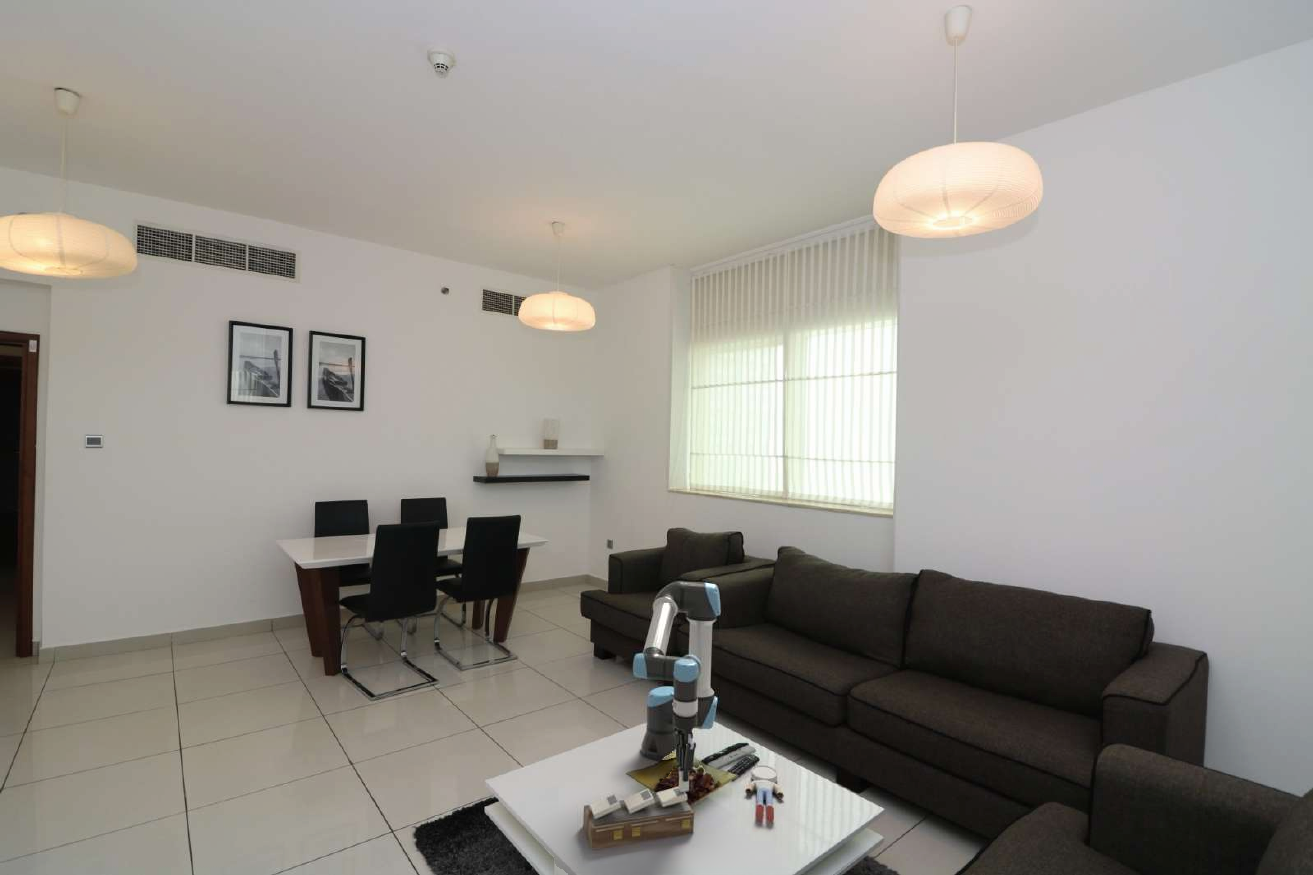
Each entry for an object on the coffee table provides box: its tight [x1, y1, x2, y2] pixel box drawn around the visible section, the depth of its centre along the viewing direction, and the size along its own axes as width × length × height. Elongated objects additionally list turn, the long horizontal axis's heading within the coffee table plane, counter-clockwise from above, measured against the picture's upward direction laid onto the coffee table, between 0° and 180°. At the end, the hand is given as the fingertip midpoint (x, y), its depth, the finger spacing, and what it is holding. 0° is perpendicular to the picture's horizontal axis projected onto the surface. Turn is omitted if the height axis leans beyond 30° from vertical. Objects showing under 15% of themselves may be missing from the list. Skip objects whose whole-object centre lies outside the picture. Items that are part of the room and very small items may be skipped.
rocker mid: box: [623, 788, 655, 814], centre depth 186 cm, size 6×8×1 cm
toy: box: [744, 764, 785, 823], centre depth 208 cm, size 6×13×30 cm
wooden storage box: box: [582, 794, 695, 851], centre depth 186 cm, size 12×31×7 cm, turn 108°
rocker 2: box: [656, 785, 688, 807], centre depth 189 cm, size 6×8×2 cm
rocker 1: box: [589, 792, 621, 819], centre depth 183 cm, size 6×8×2 cm
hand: (683, 790), depth 191 cm, fingers closed
